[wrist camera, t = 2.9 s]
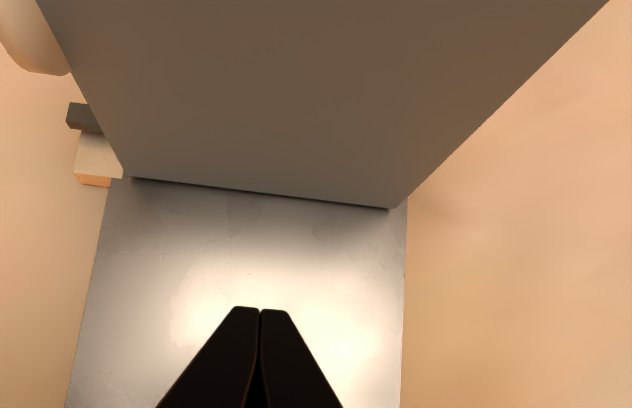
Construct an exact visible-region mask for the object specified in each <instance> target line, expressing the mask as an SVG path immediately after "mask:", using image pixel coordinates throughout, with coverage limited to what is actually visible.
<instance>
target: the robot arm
mask: <svg viewBox="0 0 632 408" xmlns="http://www.w3.org/2000/svg"><path fill="white" fill-rule="evenodd" d="M155 408H344V407H343V406H342V404H341V402H340V400H339V399H338V397H337V395H336V394H335V392H334V390H333V389H332V387H331V385H330V383H329V382H328V380H327V378H326V377H325V375H324V373H323V372H322V370H321V368H320V366H319V365H318V363H317V361H316V360H315V358H314V356H313V354H312V353H311V351H310V349H309V348H308V346H307V344H306V343H305V341H304V339H303V337H302V336H301V334H300V332H299V331H298V329H297V327H296V326H295V324H294V322H293V320H292V319H291V317H290V315H289V314H288V312H286V311H284V310H276V309H266V308H265V309H262V310H261V312H260V310H259V309H258V308H256V307H246V306H234V307H233V308H232V309H231V310H230V312H229V313H228V314H227V315H226V317H225V318H224V319H223V321H222V322H221V323H220V324H219V326H218V327H217V328H216V330H215V331H214V332H213V333H212V335H211V336H210V337H209V339H208V340H207V341H206V342H205V344H204V345H203V346H202V348H201V349H200V350H199V351H198V353H197V354H196V355H195V357H194V358H193V359H192V360H191V362H190V363H189V364H188V365H187V367H186V368H185V369H184V371H183V372H182V373H181V374H180V376H179V377H178V378H177V380H176V381H175V382H174V383H173V385H172V386H171V387H170V389H169V390H168V391H167V392H166V394H165V395H164V396H163V398H162V399H161V400H160V401H159V403H158V404H157V405H156V407H155Z"/></svg>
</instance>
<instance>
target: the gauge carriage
mask: <svg viewBox="0 0 632 408" xmlns="http://www.w3.org/2000/svg"><path fill="white" fill-rule="evenodd" d="M608 1H609V0H0V41H1V43H2V44H3V46H4V48H5V49H6V51H7V53H8V54H9V55H10V56H11V58H12V59H13V60H14V61H15V62H16V63H17V64H18V65H19V66H20V67H22V68H23V69H25V70H27V71H29V72H35V73H42V74H49V75H56V76H62V75H66V74H68V73H69V72H71V73H72V75H73V77H74V79H75V81H76V83H77V85H78V86H79V88H80V90H81V92H82V94H83V96H84V98H85V99H86V101H87V103H88V104H80V103H73V102H70V104H69V109H68V113H67V117H66V123H67V124H68V126H69V127H70V128H71V129H79V130H86V131H94V132H101V133H104V135H105V137H106V138H107V140H108V142H109V144H110V146H111V148H112V150H113V151H114V153H115V155H116V157H117V159H118V161H119V163H120V164H121V166H122V168H123V170H124V172H125V174H126V176H134V177H142V178H150V179H158V180H166V181H174V182H182V183H190V184H198V185H206V186H214V187H222V188H230V189H238V190H246V191H254V192H262V193H270V194H278V195H286V196H294V197H302V198H310V199H318V200H326V201H334V202H342V203H350V204H358V205H366V206H374V207H382V208H390V209H396V208H397V207H398V206H399V205H400V204H401V203H402V202H403V201H404V200H405V199H406V198H407V197H408V196H409V195H410V194H411V193H412V192H413V191H414V190H415V189H416V188H417V187H418V186H419V185H420V184H421V183H422V182H423V181H424V180H425V179H426V178H427V177H428V176H429V175H431V174H432V173H433V172H434V171H435V170H436V169H437V168H438V167H439V166H440V165H441V164H442V163H443V162H444V161H445V160H446V159H447V158H448V157H449V156H450V155H451V154H452V153H453V152H454V151H455V150H456V149H457V148H458V147H459V146H460V145H461V144H462V143H463V142H464V141H465V140H466V139H467V138H468V137H470V136H471V135H472V134H473V133H474V132H475V131H476V130H477V129H478V128H479V127H480V126H481V125H482V124H483V123H484V122H485V121H486V120H487V119H488V118H489V117H490V116H491V115H492V114H493V113H494V112H495V111H496V110H497V109H498V108H499V107H500V106H501V105H502V104H503V103H504V102H505V101H506V100H507V99H509V98H510V97H511V96H512V95H513V94H514V93H515V92H516V91H517V90H518V89H519V88H520V87H521V86H522V85H523V84H524V83H525V82H526V81H527V80H528V79H529V78H530V77H531V76H532V75H533V74H534V73H535V72H536V71H537V70H538V69H539V68H540V67H541V66H542V65H543V64H544V63H545V62H546V61H547V60H549V59H550V58H551V57H552V56H553V55H554V54H555V53H556V52H557V51H558V50H559V49H560V48H561V47H562V46H563V45H564V44H565V43H566V42H567V41H568V40H569V39H570V38H571V37H572V36H573V35H574V34H575V33H576V32H577V31H578V30H579V29H580V28H581V27H582V26H583V25H584V24H585V23H586V22H588V21H589V20H590V19H591V18H592V17H593V16H594V15H595V14H596V13H597V12H598V11H599V10H600V9H601V8H602V7H603V6H604V5H605V4H606V3H607V2H608Z"/></svg>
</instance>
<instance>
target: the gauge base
mask: <svg viewBox="0 0 632 408" xmlns="http://www.w3.org/2000/svg"><path fill="white" fill-rule="evenodd" d="M72 173H73V174H74V175H75V176H76V178H77V179H78V180H79V181H80V183H81V184H87V185H95V186H103V187H110V188H109V193H108V197H107V202H106V207H105V212H104V217H103V222H102V227H101V232H100V236H99V241H98V246H97V251H96V256H95V261H94V266H93V271H92V276H91V280H90V285H89V290H88V295H87V300H86V305H85V310H84V315H83V319H82V324H81V329H80V334H79V339H78V344H77V349H76V354H75V359H74V363H73V368H72V373H71V378H70V383H69V388H68V393H67V398H66V403H65V407H64V408H155V407H156V405H157V404H158V403H159V401H160V400H161V399H162V398H163V396H164V395H165V394H166V392H167V391H168V390H169V389H170V387H171V386H172V385H173V383H174V382H175V381H176V380H177V378H178V377H179V376H180V374H181V373H182V372H183V371H184V369H185V368H186V367H187V365H188V364H189V363H190V362H191V360H192V359H193V358H194V357H195V355H196V354H197V353H198V351H199V350H200V349H201V348H202V346H203V345H204V344H205V342H206V341H207V340H208V339H209V337H210V336H211V335H212V333H213V332H214V331H215V330H216V328H217V327H218V326H219V324H220V323H221V322H222V321H223V319H224V318H225V317H226V315H227V314H228V313H229V312H230V310H231V309H232V308H233V307H234V306H246V307H256V308H258V309H259V310H260V312H261V310H262V309H265V308H266V309H276V310H284V311H286V312H288V314H289V315H290V317H291V319H292V320H293V322H294V324H295V326H296V327H297V329H298V331H299V332H300V334H301V336H302V337H303V339H304V341H305V343H306V344H307V346H308V348H309V349H310V351H311V353H312V354H313V356H314V358H315V360H316V361H317V363H318V365H319V366H320V368H321V370H322V372H323V373H324V375H325V377H326V378H327V380H328V382H329V383H330V385H331V387H332V389H333V390H334V392H335V394H336V395H337V397H338V399H339V400H340V402H341V404H342V406H343V407H344V408H400V384H401V357H402V331H403V304H404V277H405V251H406V224H407V198H406V199H405V200H404V201H403V202H402V203H401V204H400V205H399V206H398V207H397V208H396V209H390V208H382V207H374V206H366V205H358V204H350V203H342V202H334V201H326V200H318V199H310V198H302V197H294V196H286V195H278V194H270V193H262V192H254V191H246V190H238V189H230V188H222V187H214V186H206V185H198V184H190V183H182V182H174V181H166V180H158V179H150V178H142V177H134V176H126V174H125V172H124V170H123V168H122V166H121V164H120V163H119V161H118V159H117V157H116V155H115V153H114V151H113V150H112V148H111V146H110V144H109V142H108V140H107V138H106V137H105V135H104V133H101V132H94V131H86V130H82V133H81V137H80V142H79V146H78V151H77V155H76V159H75V164H74V168H73V172H72Z"/></svg>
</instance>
